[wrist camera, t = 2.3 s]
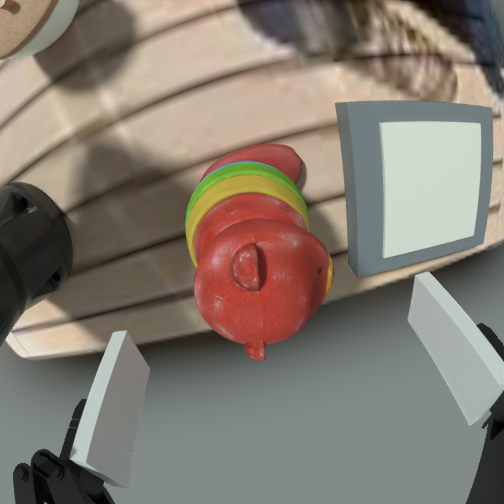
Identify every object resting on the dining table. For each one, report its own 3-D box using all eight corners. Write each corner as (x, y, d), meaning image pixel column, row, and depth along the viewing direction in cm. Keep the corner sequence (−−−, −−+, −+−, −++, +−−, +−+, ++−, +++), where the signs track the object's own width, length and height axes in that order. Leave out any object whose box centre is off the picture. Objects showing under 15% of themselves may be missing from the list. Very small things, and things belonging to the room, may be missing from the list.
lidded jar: (19, 6, 14) (-30, -5, 5) (95, -36, 14) (55, -68, 5) (20, 78, 19) (-37, 81, 11) (97, 37, 19) (47, 18, 10)
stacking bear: (293, 246, 31) (346, 383, 15) (197, 247, 30) (172, 390, 15) (302, 145, 26) (402, 207, 10) (194, 143, 25) (134, 203, 9)
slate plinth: (348, 263, 32) (358, 279, 29) (335, 102, 24) (348, 102, 21) (470, 234, 32) (484, 245, 29) (475, 105, 23) (494, 108, 20)
